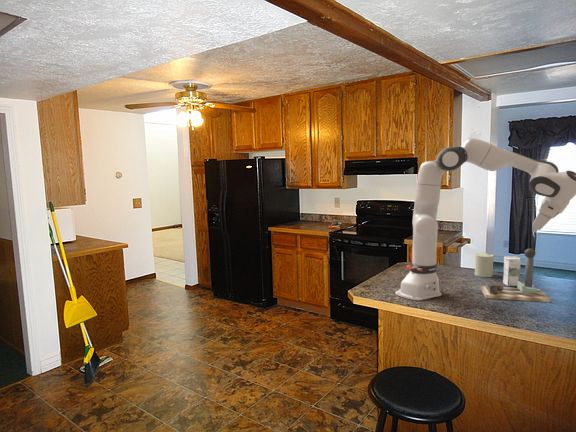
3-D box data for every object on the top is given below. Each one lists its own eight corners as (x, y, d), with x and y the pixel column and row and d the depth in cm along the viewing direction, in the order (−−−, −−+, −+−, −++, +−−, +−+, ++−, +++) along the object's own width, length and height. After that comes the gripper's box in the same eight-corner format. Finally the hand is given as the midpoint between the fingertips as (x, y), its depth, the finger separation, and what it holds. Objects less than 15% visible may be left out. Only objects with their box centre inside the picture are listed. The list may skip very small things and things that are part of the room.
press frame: (540, 292, 188) (540, 281, 188) (550, 302, 175) (550, 290, 174) (480, 288, 196) (480, 278, 195) (485, 298, 182) (486, 286, 182)
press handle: (531, 288, 186) (533, 246, 184) (536, 293, 179) (539, 250, 176) (517, 287, 188) (519, 246, 186) (522, 292, 181) (524, 249, 178)
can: (496, 276, 217) (497, 255, 215) (481, 277, 215) (482, 256, 214) (485, 272, 226) (486, 251, 224) (471, 273, 224) (471, 252, 223)
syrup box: (514, 283, 204) (515, 255, 202) (519, 286, 198) (520, 258, 196) (502, 283, 205) (503, 255, 203) (507, 286, 199) (508, 258, 197)
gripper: (554, 191, 181) (538, 214, 190) (538, 209, 169) (522, 232, 179) (568, 198, 178) (552, 221, 187) (553, 217, 166) (536, 240, 176)
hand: (537, 226), depth 183 cm, fingers open, 8 cm apart
